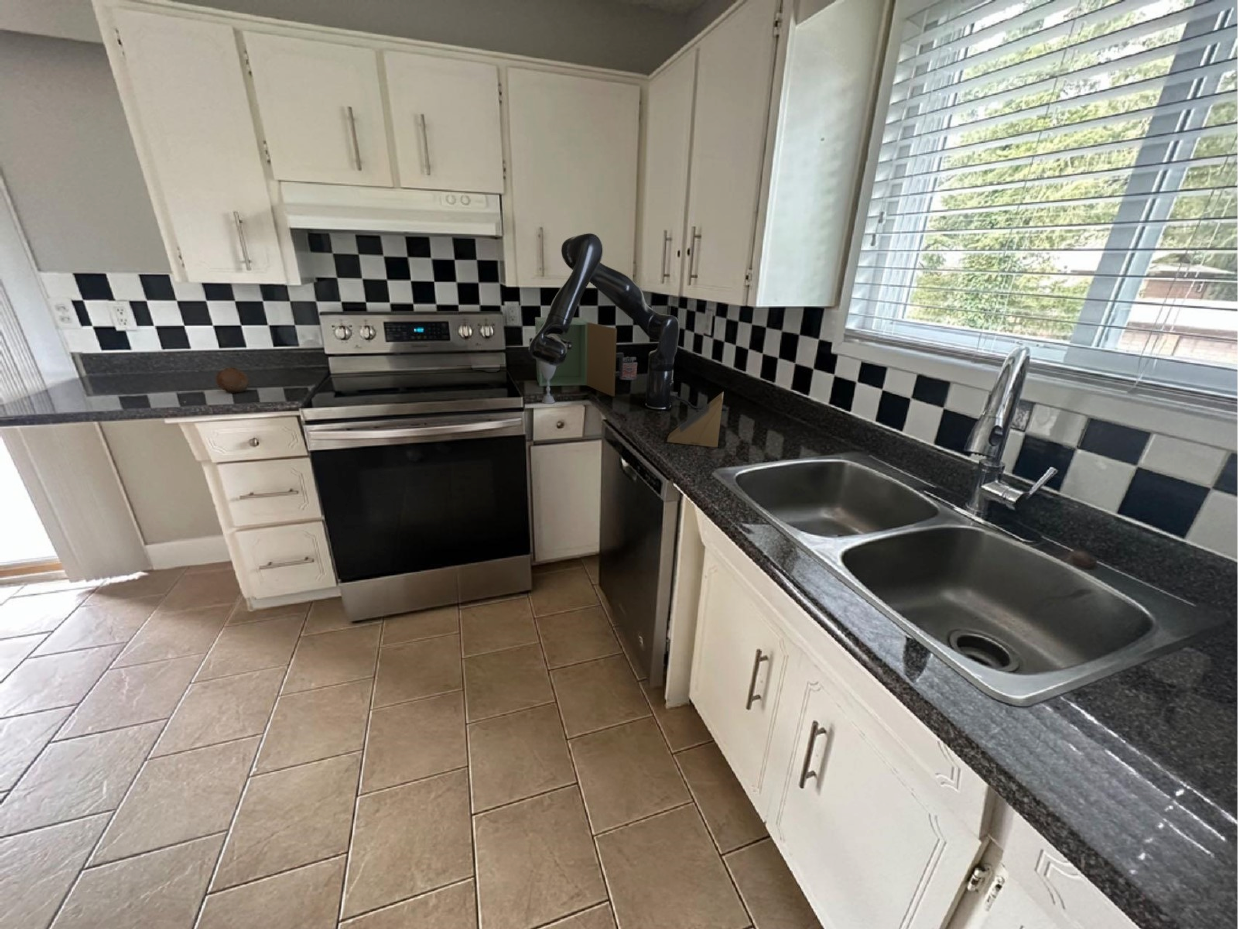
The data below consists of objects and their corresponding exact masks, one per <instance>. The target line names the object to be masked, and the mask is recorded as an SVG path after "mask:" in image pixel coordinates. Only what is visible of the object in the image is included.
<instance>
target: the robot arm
mask: <svg viewBox="0 0 1238 929" xmlns="http://www.w3.org/2000/svg"><path fill="white" fill-rule="evenodd" d="M560 253H561V257H562V259H563V262H564V263H565V264H566V265H567V267H568V268H569V269H570V270H572V272H571V273H570V275H569V277H568V278H567V279H566V281H565V282H564V284H563V285H562V286H561V288H560V289H559V290H558V291H557V293H556V295H555V297H554V298H553V299H552V301H551V304H550V307H549V309H548V312H547V315H546V317H547V318H546V320H545V322H544V324H543V326H542V327H541V329H540V330H539V332H538V333H537V334H536V333H535V335H534V336H533V337H529V342H528V344H529V345H528V354H529V356H530V357H531V358H532V359H534V360H536V359H537V360H540V361H542V362H545V363H547V364H550V365H553V366H559V365H561V364H562V363H563V362H564V360H565V358H566V355H567V349H569V350H570V349H572V341H571V340H570V341H567V340H563V339H560V338H559V337H558V336H557V335H556V334H558V335H565V334H566V333H567V332H568V330H569V327H570V325H571V322H572V319H573V318H574V317H575V313H576V311H577V308H578V306H579V303H580V301H581V299H582V297H583V295H584V294H585V291H586V289H587V288H588V286H589V283H590V284H591V285H592V286H594V288H596V289H597V290H598V291H599V292H600V293H602V295H604V296H605V297H606V298H607V299H608V300H609V301H610V302H611V303H612V304H614V305H615V306H616V307H617V308H618V309H619V310H621V311H622V312H623V313H624V315H626V316H628V318H630V319H631V320H633V321H634V322H635V323H636V324H637V326H638V327H639V328H640V329H641V330H642V331H643V333H644V334H645V335H646V336H647V337H648V338H649V339H651V340H653V341H657V342H658V344H657V348H656V349H655V350H651V351H650V352H649V353H648V362H647V379H646V393H645V394H646V395H645V398H644V401H645V408H647V409H650V410H654V411H669V410H670V409H671V408H672V407H673V402H674V403H675V402H676V401H677V400H680V401H683V402H684V403H686V404H688V405H689V406H690V408H692V409H696V410H701V409H702V408H703V407H705V406H706V405H704V406H695V405H693V404H692V403H691V402H690V401H689V400H688V399H685V398H683V397H680V396H678V391H674V381H673V380H674V379H673V377H674V366H675V357H676V354H677V352H678V346H679V345H678V344H679V338H680V323H679V320H678V318H677V317H676V316H674V315H671V314H663V313H659V312H657V311H655V309H653V308H651V307H650V306H649V305H648V304H647V302H646V300H645V295H644V293H643V290H642V289H641V287H640V286H639V285H638V284H636V283H635V282H634V281H633V279H631V278H630V276H628V275H626V274H624V273H623V272H621V271H619V270H616V269H614V268H612V267H609V266H608V265H605V264H603V263H602V259H603V256H604V247H603V242H602V241H601V239H600V237H599V236H598V235H596V234H595V233H591V232H590V233H587V232H586V233H582V234H578V235H574V236H571V237H569V238H566V239H565V240H564V241H563V242H562V244H561V248H560ZM722 411H727V408H726V407H722Z"/></svg>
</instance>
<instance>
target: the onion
mask: <svg viewBox="0 0 1238 929" xmlns="http://www.w3.org/2000/svg"><path fill="white" fill-rule="evenodd" d="M215 382H216V384H217V386H218V387H219V388H220V389H221V390H223V391H224V392H226V393H230V394H238V393H243V392H245V391H246V390H247V389H248V386H249V378H248V376H247V374H246V373H245V372H243V371H241V370H239V369H238V368H235V367H233V366H229V367H227V368H225V369H222V370H221V371H219V372H218V373H217V374H216V376H215Z"/></svg>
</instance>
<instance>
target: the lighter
mask: <svg viewBox="0 0 1238 929" xmlns="http://www.w3.org/2000/svg"><path fill="white" fill-rule="evenodd" d="M637 369H638V362H637V357H636V356H631V357H630V356H626V357H623V376H618V380H622V381H624V380H625V381H634V380H637V379H638V377H637Z"/></svg>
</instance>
